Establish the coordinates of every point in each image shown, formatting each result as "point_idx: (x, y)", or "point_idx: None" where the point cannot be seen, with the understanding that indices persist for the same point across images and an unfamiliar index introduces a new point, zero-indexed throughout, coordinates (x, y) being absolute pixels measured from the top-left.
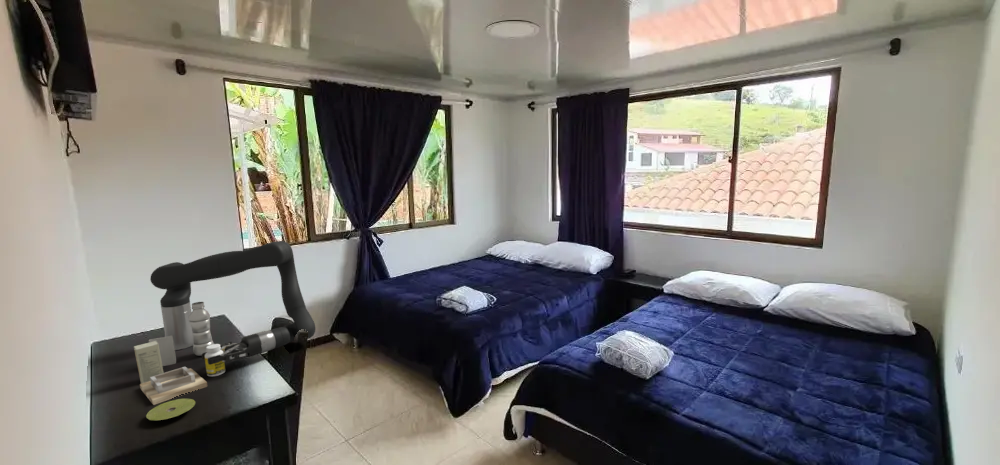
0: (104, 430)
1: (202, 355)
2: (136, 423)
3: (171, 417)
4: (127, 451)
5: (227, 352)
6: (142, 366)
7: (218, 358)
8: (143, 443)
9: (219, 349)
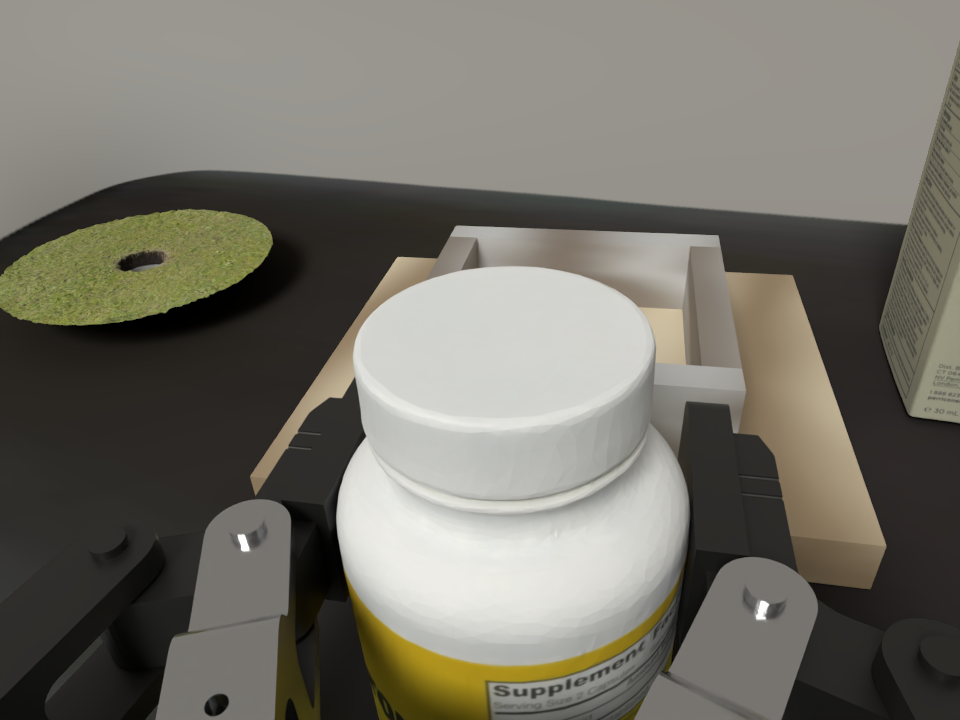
0: (371, 191)
1: (686, 415)
2: (282, 232)
3: (52, 241)
4: (100, 194)
5: (223, 617)
6: (927, 183)
7: (273, 485)
8: (78, 216)
9: (378, 458)
